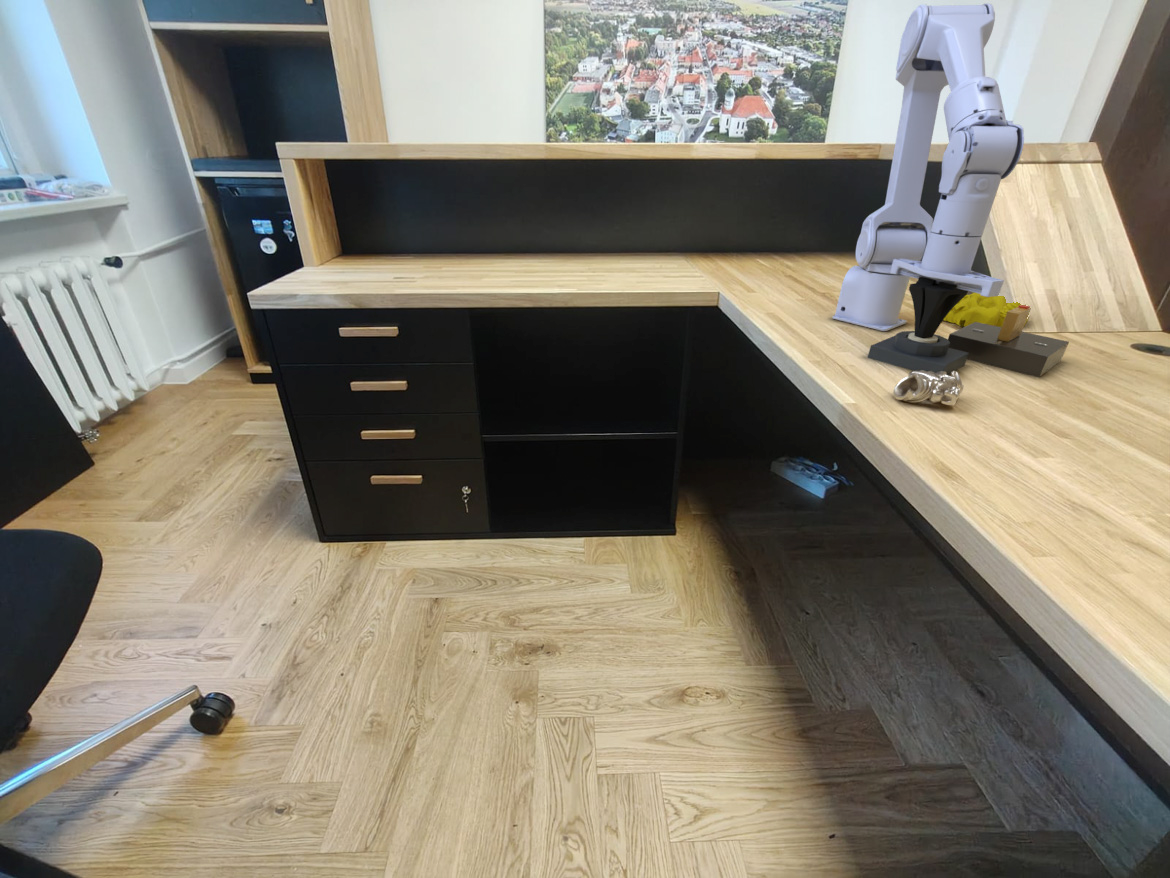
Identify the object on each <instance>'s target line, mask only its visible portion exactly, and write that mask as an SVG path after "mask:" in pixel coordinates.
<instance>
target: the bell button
mask: <svg viewBox="0 0 1170 878" xmlns="http://www.w3.org/2000/svg"><path fill="white" fill-rule="evenodd" d="M914 334H915V332H914V333H910V334H909V335H908V338H909V339H911V340H914V341H918V342H923V343H937V340H938V338H937V337H936V336H934V335H933V337H930V338H924V339H923V338H919V337H916V336H914Z"/></svg>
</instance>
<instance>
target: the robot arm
mask: <svg viewBox="0 0 1170 878" xmlns="http://www.w3.org/2000/svg"><path fill="white" fill-rule="evenodd" d="M995 21H996V13H995V9H994V5H993V4H992V3H989V2H988V3H983V4H957V5H956V4H955V5H954V4H953V5H951V4H950V5H949V4H948V5H946V4H945V5H943V4H942V5H928V4H923V3H921V4H918V6H917V7H916V8H915V9H914V10H913V11H912V12H911V14H910V15H909V17H908V18H907V21H906V23H905V27H904V30H903V32H902V35H901V38H900V43H899V49H898V55H897V60H896V61H897V62H896V68H895V71H896V73H895V80H896V82H898V83H899V84H901V86H902V87H903V92H902V100H901V101H902V102H901V108H900V115H899V120H898V125H897V126H898V127H897V132H896V137H895V144H894V150H893V154H892V161H891V166H890V173H889V178H888V184H887V190H886V196H885V202H884V205H882V206H881V207H880V208H878V209H877V210H875V211H874V212H872V213H870V214H869V215H868V216H867V217H866V218H865V219H864V220H863V222H862V226H861V230H860V234H859V236H858V238H857V241H856V246H855V261H856V262H857V265H852V266H851V267H850V268H849V269H848V271H846V274H845V276H844V278H843V280H842V283H841V288H840V292H839V296H838V300H837V305H836V308H835V312H834V315H832V317H831V319H832V320H836V321H839V322H844V323H849V324H853V325H857V326H860V327H864V328H869V329H874V330H876V331H881V332H888V331H891V330H893V329H895V328H898V327H900V326H902V325H905V324H907V322H908V321H907V320H906V319H901V318H899V317H900V313H901V309H902V306H903V302H904V300H905V296H906V292H907V289H908V291H909V294H910V296H911V300H912V304H913V312H914V331H915V334H914V336H916V337H919V338H923V339H924V338H930V337H933V335H934V334H935V333H936V332H937V330H938V329H939V327H940V326H941V324H942V323H943V322H944V321H945V320H944V318H945V317H946V316H947V314H948V313H949V312H950V311H951V309H952V308H953V307H954V306H955V305H956V304H957V303H958V302H959V301H960V300H961V299H962V298H963V297H965V296H966V295H968V293H969V292H971V293H973V292H975V293H979V294H980V295H981V296H985V297H993V296H998V295H999V293H1001V290H1002V287H1003V285H1004V282H1005V279H1000V278H996V277H992V276H989V275H986V274H984V273H980V272H977V271H974V270H972V267H973V264H974V261H975V258H976V255H977V252H978V249H979V246H980V243H981V240H982V237H983V234H984V231H985V229H986V226H987V223H988V220H989V216H990V215H991V211H992V207H993V205H994V202H995V199H996V196H997V193H998V190H999V188H1000V184H1001V182H1002V180H1004V179H1006V178H1008V177H1009V175H1010V174H1012V173H1013V171H1014V170H1015V168H1016V167H1017V165H1018V163H1019V161H1020V158H1021V156H1022V153H1023V150H1024V145H1025V135H1024V132H1025V131H1024V127H1023V126H1022V125H1020V124H1016V123H1015V124H1014V121H1013V120H1008V119H1006V114H1005V109H1004V104H1003V100H1002V96H1001V91H1000V87H999V84H998V81H997V80H996V79H995V78H993V77H990V76H986V61H985V47H986V46H987V44H988V42H989V40H990V38H991V35H992V33H993V30H994V27H995ZM946 86H948V87H949V91H950V93H949V94H948V95H947V97H946V99H945V101H944V103H943V112H944V120H945V125H946V130H947V131H946V132H947V137H948V144H947V146H946V148H945V151H944V152H943V156H942V161H941V177H940V181H939V185H938V193H939V194H940V198H939V201H938V204H937V208H936V211H935V215H934V218H933V217H932V216H931V214H929V212H927V211H926V210H925V209H924V208H923V207H922V206H921V199H922V194H923V189H924V182H925V178H926V174H927V167H928V162H929V156H930V153H931V152H930V151H931V145H932V139H933V135H934V129H935V124H936V119H937V115H938V114H937V113H938V108H939V102H940V99H941V93H942V91H943V89H944V88H945V87H946ZM891 226H892V227H891ZM911 278H913V279H917V280H916V282H915V283H914V282H913V283H910V284H909V281H910V279H911ZM935 335H936V334H935Z"/></svg>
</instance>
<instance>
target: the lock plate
mask: <svg viewBox="0 0 1170 878" xmlns="http://www.w3.org/2000/svg"><path fill="white" fill-rule="evenodd" d="M1000 330H1001V327H997V326H993V325H988V324H983V323H978V322H974V323H972V324H970V325H968V326H966V327H964V326H963V327H960V328H959V329H958V330H955V331H953V332H951V333H949V335H948V337H947V339H948V341H949V342H950V345H949V348H951V349H955V350H959V351H964V352H968V353H969V354H968V357H967V360H968V361H973V362H977V363H980V364H985V365H988V366H992V367H995V368H1000V369H1003V370H1008V371H1011V372H1015V373H1020V374H1024V375H1028V376H1032V377H1035V378H1040V377H1042V376H1043V375H1044V374H1045V373H1047V372H1048V371H1050V370H1051V369H1052V368H1054V367H1055V366H1056V365H1057V364H1059V363H1061V361H1062V359H1063V357H1064V354H1065V352H1066V349H1067V348H1068V345H1069V344H1070V341H1067V340H1063V339H1059V338H1053V337H1050V336H1044V335H1039V334H1036V333H1035V334H1034V333H1030V332H1024V331H1022V332H1021V335H1020V336H1018V337H1016V338H1014V339H1012V340H1010V341H1009V342H1007V341H1002V340H998V339H997V338H998V335H999V333H1000Z"/></svg>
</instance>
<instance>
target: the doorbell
mask: <svg viewBox="0 0 1170 878" xmlns="http://www.w3.org/2000/svg"><path fill="white" fill-rule="evenodd" d="M914 332H915V330H904V331H900V332H896V334H895V335H892V336H890V337H888V338H885V339H883V340H880V341H879V342H876V343H874V344H871V345H870V348H869V351H868V354H867V359H870V360H873V361H877V362H881V363H885V364H888V365H892V366H894V367H899V368H902V369H905V370H909V371H911V372H912V371H921V370H924V371H927V372H928V371H932V372H934V373H937V372H939V371H943V372H946V373H947V374H946V375H948V376H950V375H951V372H952V371H958V370H959V369H961V368H963V367H964V366H965V365H966V363H967V360H968V359H967V357H968V354H969V353H968V352H964V351H959V350H955V349H951V348H949V345H950V342H949V341H948V338H947V337H944V336H941V335H939V334H934V336H936V337H937V338H938V340H937V343H923V342H918V341H914V340H911V339H909V338H908V335H909V334H910V333H914Z"/></svg>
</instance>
